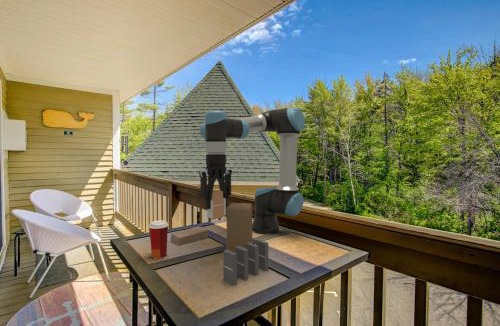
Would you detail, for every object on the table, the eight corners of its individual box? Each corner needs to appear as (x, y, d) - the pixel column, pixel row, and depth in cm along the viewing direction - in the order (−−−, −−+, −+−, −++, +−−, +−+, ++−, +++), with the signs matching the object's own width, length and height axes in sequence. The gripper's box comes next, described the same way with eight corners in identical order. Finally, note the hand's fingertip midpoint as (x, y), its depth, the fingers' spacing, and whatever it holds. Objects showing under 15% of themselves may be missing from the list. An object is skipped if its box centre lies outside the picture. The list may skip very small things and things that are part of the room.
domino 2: (238, 273, 91) (238, 245, 91) (248, 278, 88) (248, 249, 87) (234, 275, 90) (234, 246, 90) (244, 280, 87) (244, 250, 86)
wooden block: (252, 247, 117) (252, 202, 116) (250, 256, 107) (250, 207, 106) (230, 246, 118) (230, 202, 117) (226, 255, 108) (226, 207, 107)
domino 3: (248, 269, 95) (248, 242, 94) (258, 274, 91) (258, 245, 91) (245, 270, 94) (245, 243, 93) (255, 275, 90) (255, 247, 90)
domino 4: (258, 265, 98) (258, 239, 98) (268, 269, 95) (268, 242, 94) (255, 266, 97) (255, 240, 97) (265, 271, 93) (265, 243, 93)
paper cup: (167, 251, 111) (166, 219, 111) (170, 258, 105) (170, 223, 104) (147, 254, 108) (147, 221, 107) (149, 261, 101) (149, 226, 100)
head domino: (209, 219, 96) (209, 192, 95) (220, 216, 99) (220, 190, 99) (212, 219, 95) (212, 192, 94) (223, 217, 98) (223, 191, 98)
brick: (178, 246, 118) (178, 236, 118) (169, 242, 124) (169, 232, 124) (208, 238, 130) (208, 229, 129) (199, 234, 136) (199, 225, 135)
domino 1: (227, 278, 88) (227, 249, 87) (236, 283, 84) (236, 253, 84) (223, 280, 87) (223, 250, 86) (232, 285, 83) (232, 255, 83)
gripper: (228, 153, 105) (229, 210, 106) (189, 153, 92) (190, 218, 94) (241, 153, 99) (241, 213, 100) (200, 154, 87) (201, 222, 88)
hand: (216, 216), depth 97 cm, fingers closed on head domino, 5 cm apart
